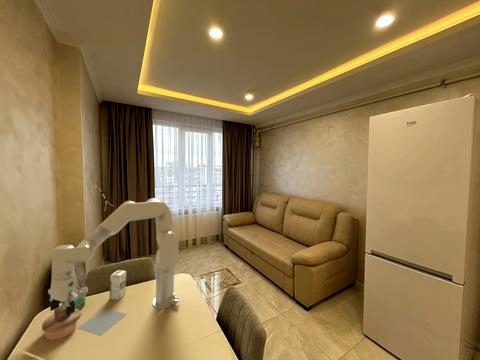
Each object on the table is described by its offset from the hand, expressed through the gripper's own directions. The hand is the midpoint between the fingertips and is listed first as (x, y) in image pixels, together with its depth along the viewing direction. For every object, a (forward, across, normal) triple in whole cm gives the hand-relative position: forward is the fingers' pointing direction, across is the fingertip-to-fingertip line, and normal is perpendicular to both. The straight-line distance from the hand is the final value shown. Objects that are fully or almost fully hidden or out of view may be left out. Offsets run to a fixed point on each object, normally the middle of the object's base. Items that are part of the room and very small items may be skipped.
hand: (62, 311), depth 88 cm
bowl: (+9, 0, 0) cm, 9 cm away
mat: (+9, -12, -10) cm, 18 cm away
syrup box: (+10, -2, -27) cm, 29 cm away
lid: (+4, 0, 0) cm, 4 cm away
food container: (+10, +8, -12) cm, 17 cm away
